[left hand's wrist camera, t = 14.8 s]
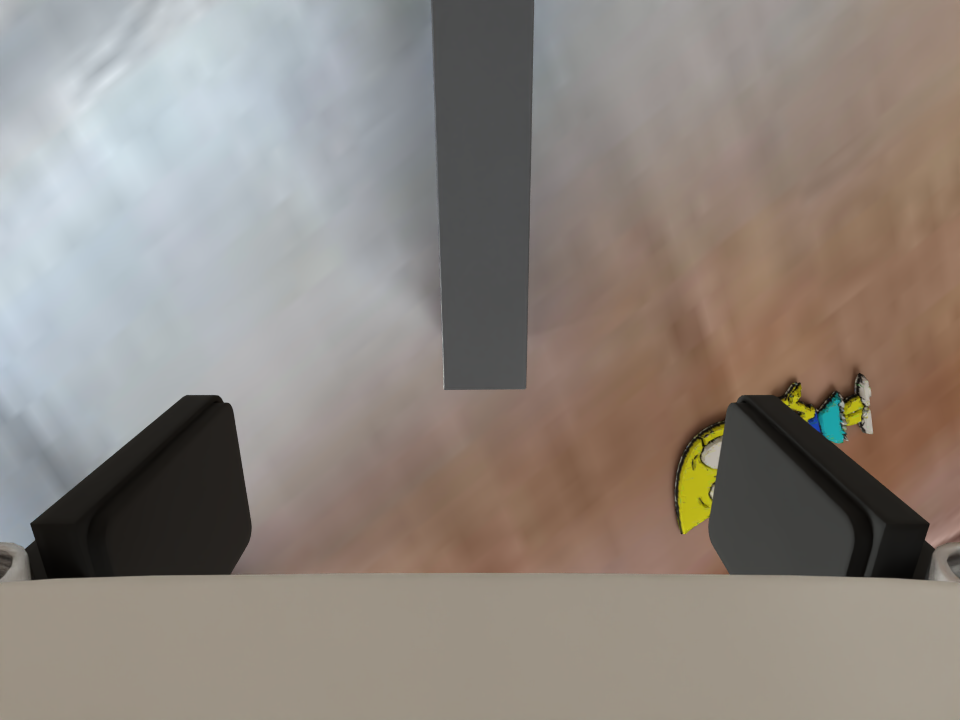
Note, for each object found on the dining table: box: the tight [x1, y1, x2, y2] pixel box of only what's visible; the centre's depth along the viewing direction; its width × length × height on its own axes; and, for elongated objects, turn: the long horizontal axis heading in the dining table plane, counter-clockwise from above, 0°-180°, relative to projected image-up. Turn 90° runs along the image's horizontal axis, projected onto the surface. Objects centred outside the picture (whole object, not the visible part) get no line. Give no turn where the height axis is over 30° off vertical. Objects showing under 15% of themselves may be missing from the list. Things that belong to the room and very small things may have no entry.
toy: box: [675, 373, 873, 534], centre depth 42 cm, size 10×1×15 cm
